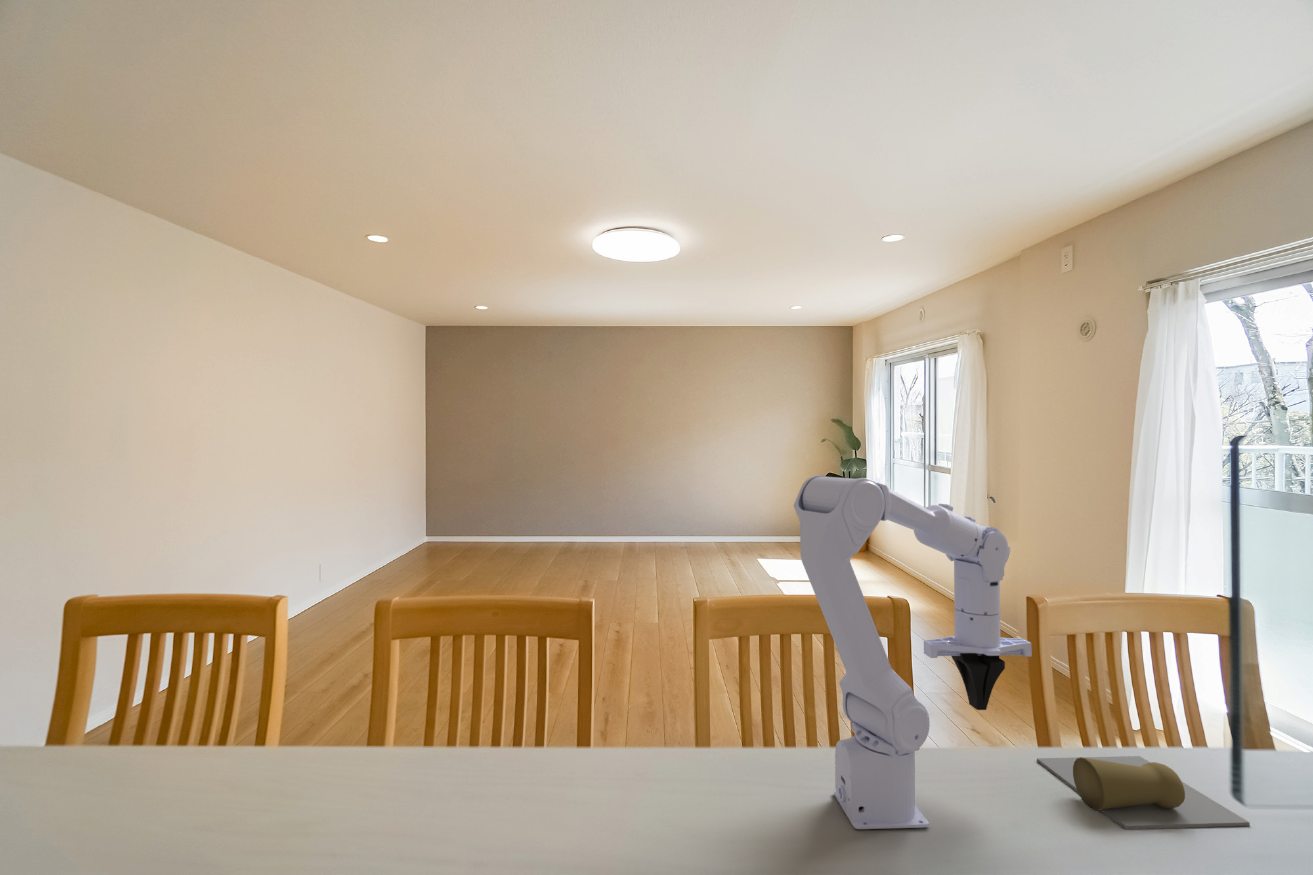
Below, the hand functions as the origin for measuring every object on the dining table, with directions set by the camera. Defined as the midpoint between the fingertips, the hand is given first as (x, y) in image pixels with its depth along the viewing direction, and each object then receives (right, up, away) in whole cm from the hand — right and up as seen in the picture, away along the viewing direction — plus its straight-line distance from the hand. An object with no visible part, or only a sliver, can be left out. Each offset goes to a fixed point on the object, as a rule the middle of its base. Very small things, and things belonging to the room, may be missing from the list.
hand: (977, 706), depth 84 cm
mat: (+20, -10, -2) cm, 23 cm away
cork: (+11, -7, -6) cm, 15 cm away
